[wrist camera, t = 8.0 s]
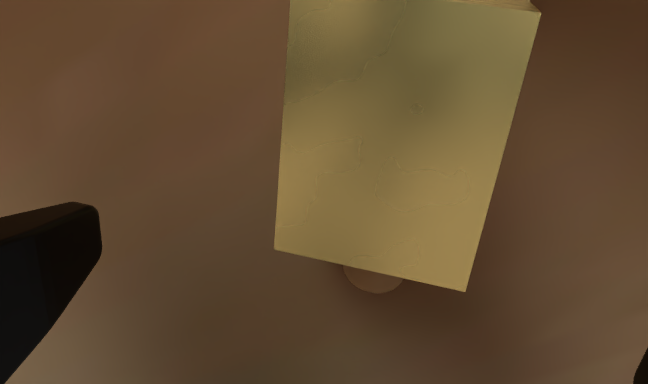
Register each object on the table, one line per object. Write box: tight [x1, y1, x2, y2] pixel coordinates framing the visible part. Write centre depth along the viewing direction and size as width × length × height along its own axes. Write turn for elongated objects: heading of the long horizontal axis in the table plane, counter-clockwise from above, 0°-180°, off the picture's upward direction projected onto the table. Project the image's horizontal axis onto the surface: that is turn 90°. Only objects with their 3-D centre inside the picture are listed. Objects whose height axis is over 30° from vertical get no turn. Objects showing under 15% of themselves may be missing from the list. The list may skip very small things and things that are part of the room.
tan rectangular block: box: [274, 0, 541, 292], centre depth 13 cm, size 6×4×4 cm
